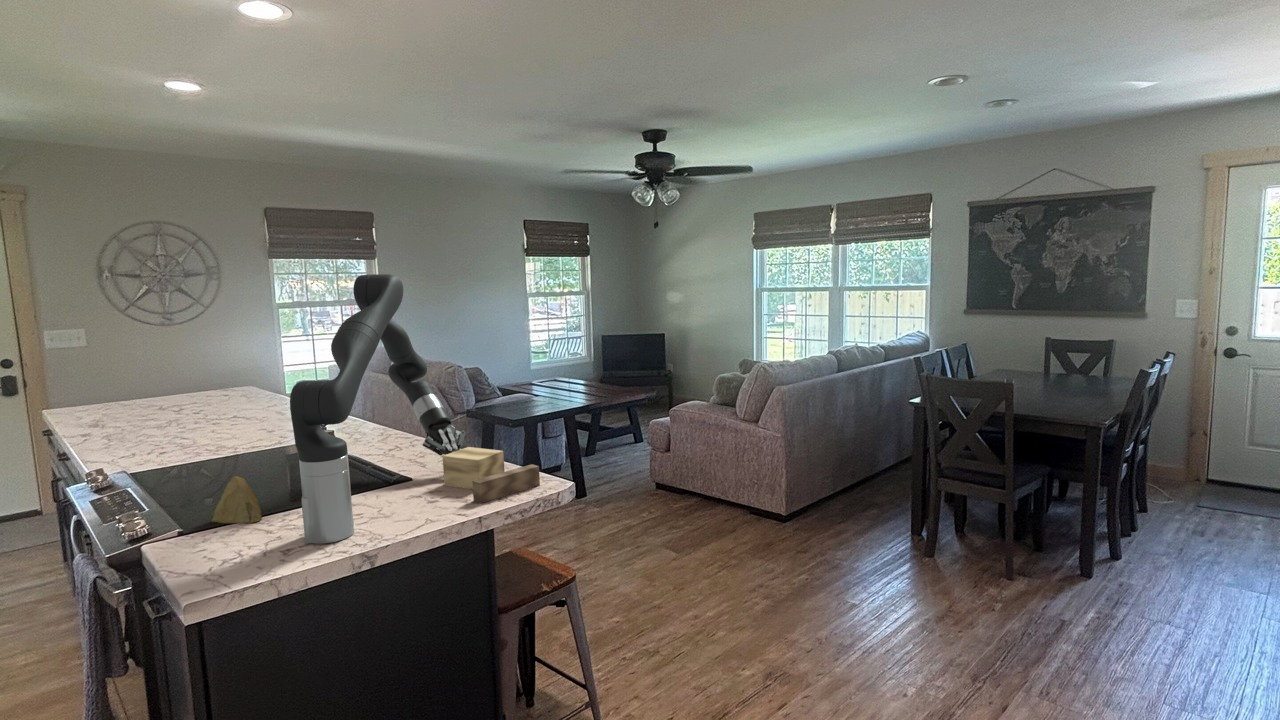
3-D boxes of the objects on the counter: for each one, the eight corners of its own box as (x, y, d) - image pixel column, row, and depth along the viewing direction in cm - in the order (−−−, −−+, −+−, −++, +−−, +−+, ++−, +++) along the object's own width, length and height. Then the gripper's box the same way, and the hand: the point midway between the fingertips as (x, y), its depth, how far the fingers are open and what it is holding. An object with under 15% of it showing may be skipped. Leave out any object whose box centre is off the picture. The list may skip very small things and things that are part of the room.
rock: (276, 508, 154) (262, 494, 161) (249, 486, 149) (236, 472, 156) (235, 546, 149) (222, 529, 156) (206, 524, 144) (194, 508, 151)
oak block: (480, 491, 171) (478, 460, 170) (444, 485, 177) (442, 455, 176) (504, 480, 180) (503, 450, 179) (470, 475, 185) (468, 446, 184)
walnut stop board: (480, 503, 161) (479, 483, 160) (473, 500, 163) (472, 480, 162) (539, 485, 174) (539, 466, 173) (532, 482, 176) (531, 464, 175)
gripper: (414, 409, 183) (441, 461, 176) (456, 402, 192) (483, 450, 185) (405, 426, 187) (431, 477, 180) (447, 418, 196) (474, 466, 190)
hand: (458, 463), depth 183 cm, fingers closed
